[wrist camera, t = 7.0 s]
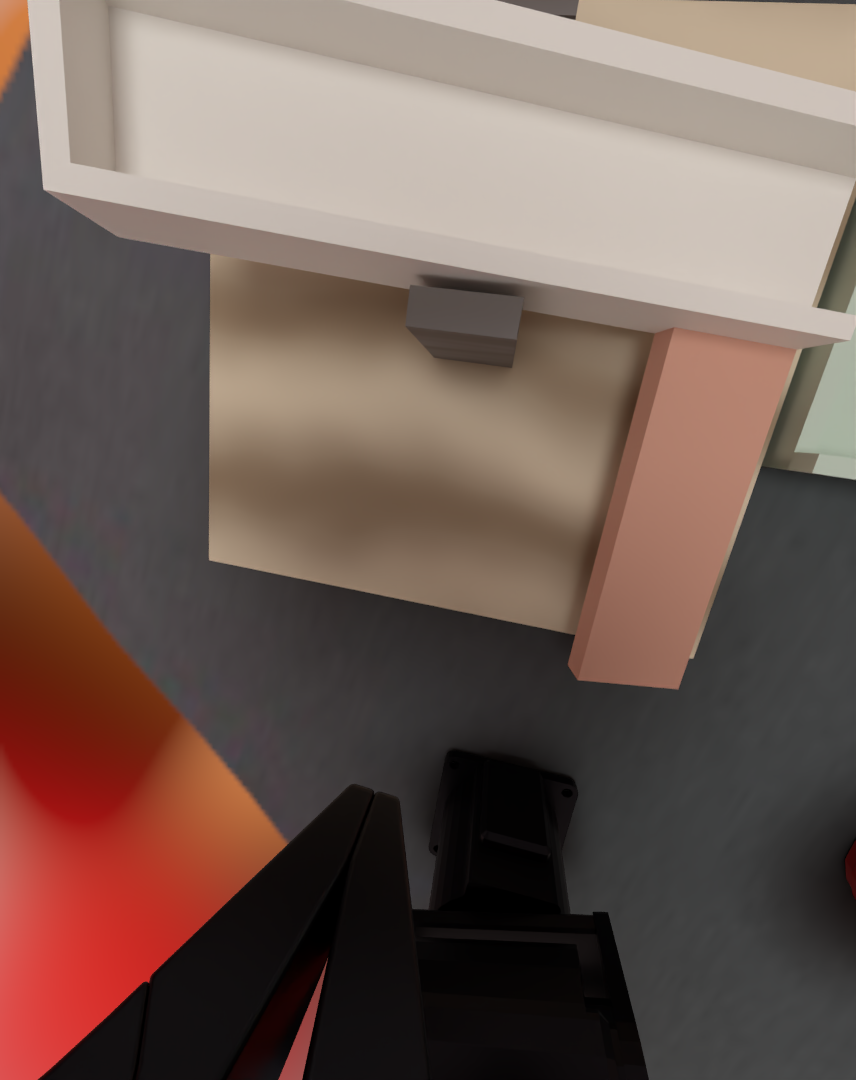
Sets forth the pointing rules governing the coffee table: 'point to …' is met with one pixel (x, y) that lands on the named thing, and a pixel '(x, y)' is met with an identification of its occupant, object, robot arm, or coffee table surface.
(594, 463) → the lever stand
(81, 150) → the lever
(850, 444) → the tray
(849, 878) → the plastic cup
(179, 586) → the coffee table surface
